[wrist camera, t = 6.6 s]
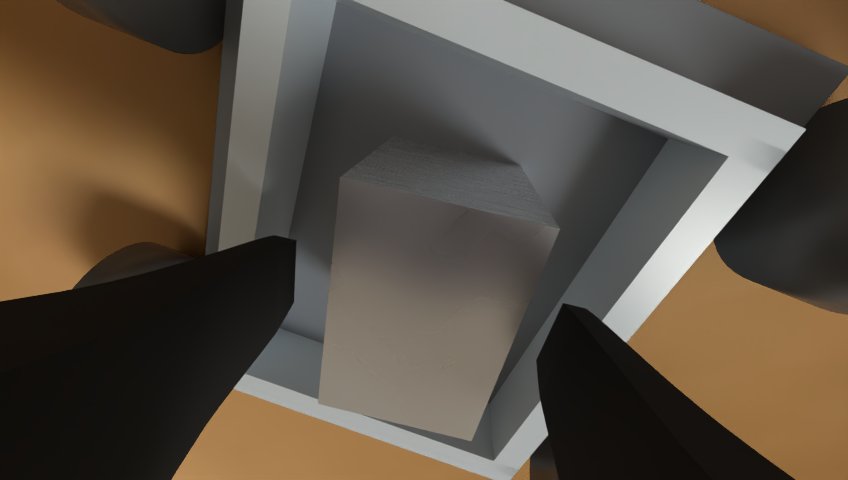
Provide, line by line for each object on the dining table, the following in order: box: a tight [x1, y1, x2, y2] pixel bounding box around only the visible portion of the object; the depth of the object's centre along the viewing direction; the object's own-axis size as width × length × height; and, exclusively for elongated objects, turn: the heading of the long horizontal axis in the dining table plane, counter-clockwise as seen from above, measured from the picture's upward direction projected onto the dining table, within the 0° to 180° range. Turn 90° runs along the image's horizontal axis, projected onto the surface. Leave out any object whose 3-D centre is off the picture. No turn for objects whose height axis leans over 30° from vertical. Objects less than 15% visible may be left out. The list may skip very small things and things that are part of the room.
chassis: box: [57, 0, 848, 480], centre depth 11 cm, size 20×18×5 cm
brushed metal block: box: [318, 136, 560, 441], centre depth 10 cm, size 4×6×5 cm, turn 168°
